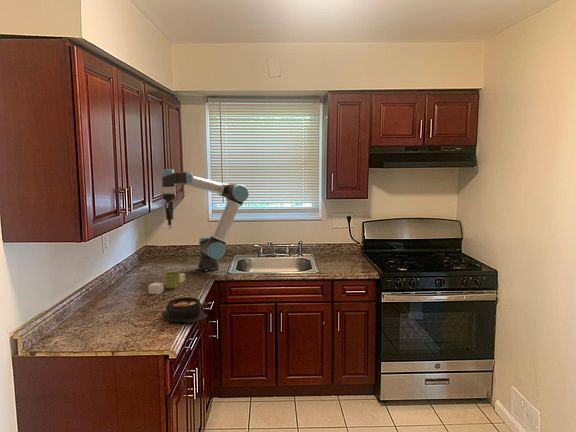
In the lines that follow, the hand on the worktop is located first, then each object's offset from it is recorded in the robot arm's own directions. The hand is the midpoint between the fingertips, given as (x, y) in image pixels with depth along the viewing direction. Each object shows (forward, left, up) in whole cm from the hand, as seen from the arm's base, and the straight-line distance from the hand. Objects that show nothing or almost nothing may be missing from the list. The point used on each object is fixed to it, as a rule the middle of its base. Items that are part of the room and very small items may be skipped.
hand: (170, 229), depth 287 cm
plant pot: (+22, +5, -33) cm, 40 cm away
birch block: (+9, +6, -33) cm, 34 cm away
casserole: (+78, +24, -33) cm, 88 cm away
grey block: (+32, -2, -33) cm, 46 cm away
